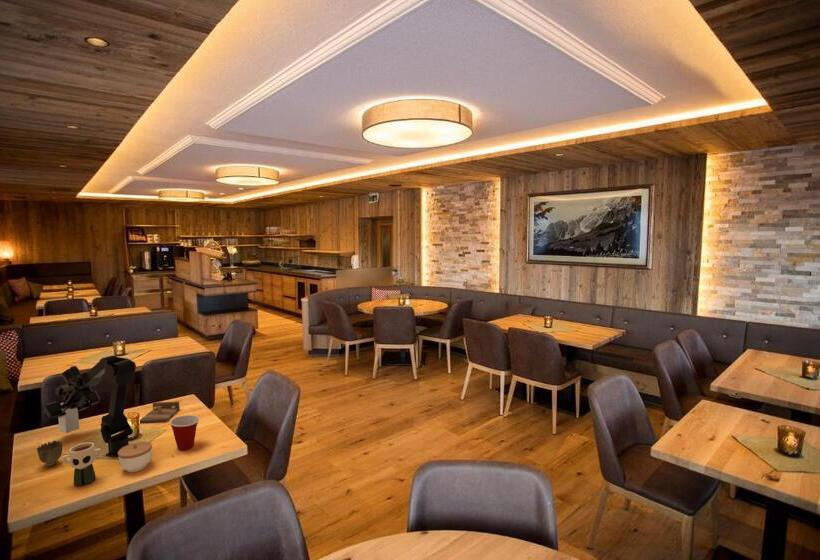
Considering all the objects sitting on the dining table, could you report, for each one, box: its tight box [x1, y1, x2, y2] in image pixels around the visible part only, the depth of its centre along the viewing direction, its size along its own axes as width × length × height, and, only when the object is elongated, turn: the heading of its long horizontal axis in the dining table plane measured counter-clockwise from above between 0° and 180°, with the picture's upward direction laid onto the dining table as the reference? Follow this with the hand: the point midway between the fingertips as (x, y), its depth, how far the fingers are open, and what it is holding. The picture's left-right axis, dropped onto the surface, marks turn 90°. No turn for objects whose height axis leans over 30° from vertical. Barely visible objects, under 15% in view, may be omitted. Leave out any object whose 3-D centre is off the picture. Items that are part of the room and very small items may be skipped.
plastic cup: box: [169, 414, 200, 451], centre depth 172 cm, size 11×11×12 cm
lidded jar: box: [117, 441, 153, 473], centre depth 157 cm, size 11×11×9 cm
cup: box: [36, 440, 63, 468], centre depth 160 cm, size 8×7×8 cm
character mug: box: [62, 441, 103, 486], centre depth 148 cm, size 11×7×13 cm, turn 119°
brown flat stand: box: [140, 401, 181, 425], centre depth 202 cm, size 14×12×5 cm
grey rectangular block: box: [57, 402, 80, 434], centre depth 182 cm, size 5×5×12 cm
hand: (66, 414), depth 182 cm, fingers closed on grey rectangular block, 5 cm apart
